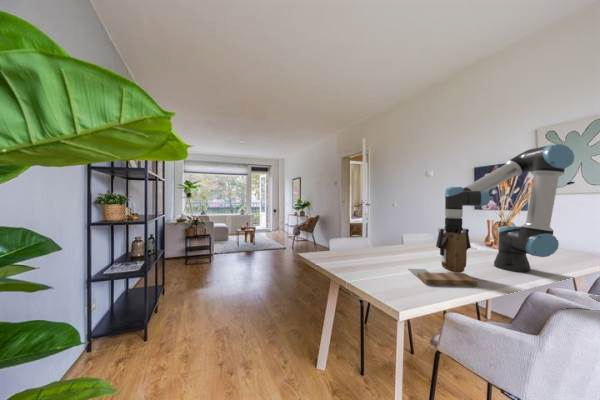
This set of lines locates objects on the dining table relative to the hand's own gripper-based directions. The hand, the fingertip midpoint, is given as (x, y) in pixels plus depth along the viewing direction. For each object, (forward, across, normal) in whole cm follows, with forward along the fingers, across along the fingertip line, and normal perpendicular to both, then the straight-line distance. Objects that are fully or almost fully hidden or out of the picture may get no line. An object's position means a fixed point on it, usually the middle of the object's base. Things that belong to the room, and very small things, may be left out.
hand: (452, 261), depth 124 cm
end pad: (+6, +16, 0) cm, 17 cm away
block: (+4, 0, 0) cm, 4 cm away
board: (+6, +9, +12) cm, 16 cm away
